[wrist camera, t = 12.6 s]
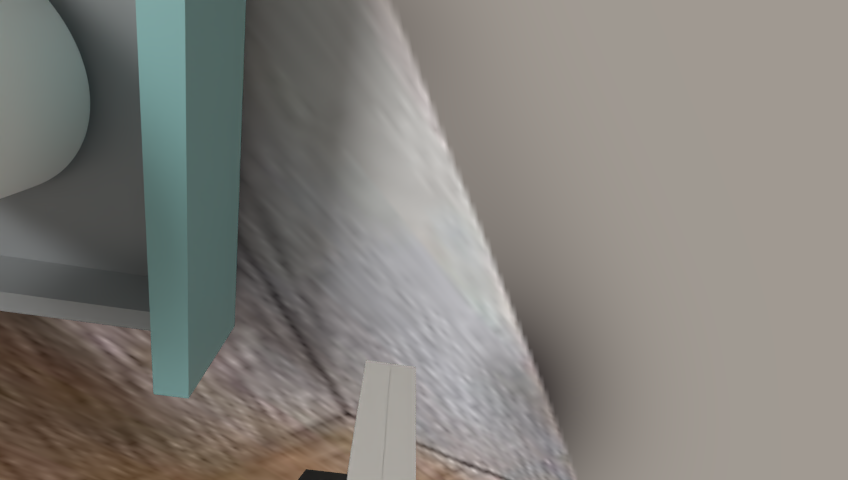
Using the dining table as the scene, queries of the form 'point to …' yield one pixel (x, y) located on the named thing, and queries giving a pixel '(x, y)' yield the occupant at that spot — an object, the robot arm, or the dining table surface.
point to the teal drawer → (142, 186)
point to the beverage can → (38, 95)
